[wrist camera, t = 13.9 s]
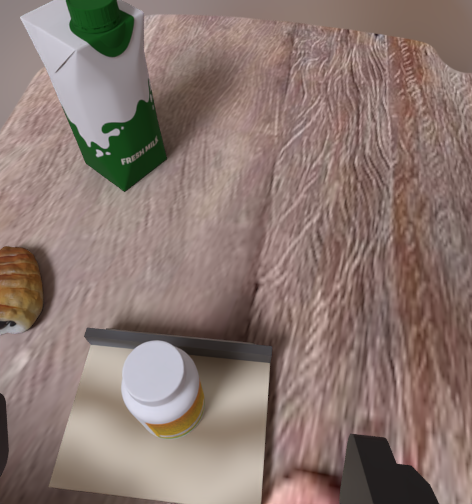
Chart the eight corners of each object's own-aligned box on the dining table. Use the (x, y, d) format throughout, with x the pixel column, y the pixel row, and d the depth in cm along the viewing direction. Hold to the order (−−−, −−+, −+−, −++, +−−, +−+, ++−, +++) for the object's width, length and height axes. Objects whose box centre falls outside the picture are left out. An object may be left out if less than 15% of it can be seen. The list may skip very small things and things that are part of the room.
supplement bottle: (217, 393, 36) (211, 354, 28) (181, 454, 33) (163, 431, 25) (164, 361, 37) (144, 315, 29) (126, 417, 35) (92, 385, 27)
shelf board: (98, 339, 40) (87, 324, 37) (269, 356, 39) (272, 342, 36) (55, 488, 34) (37, 484, 31) (259, 513, 33) (261, 512, 30)
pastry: (-14, 258, 45) (-32, 238, 42) (52, 251, 46) (38, 230, 43) (-30, 343, 40) (-53, 327, 37) (44, 333, 41) (28, 316, 38)
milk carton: (124, 200, 49) (64, 30, 32) (74, 163, 52) (-4, -9, 35) (177, 158, 53) (149, -15, 36) (128, 125, 56) (80, -48, 39)
